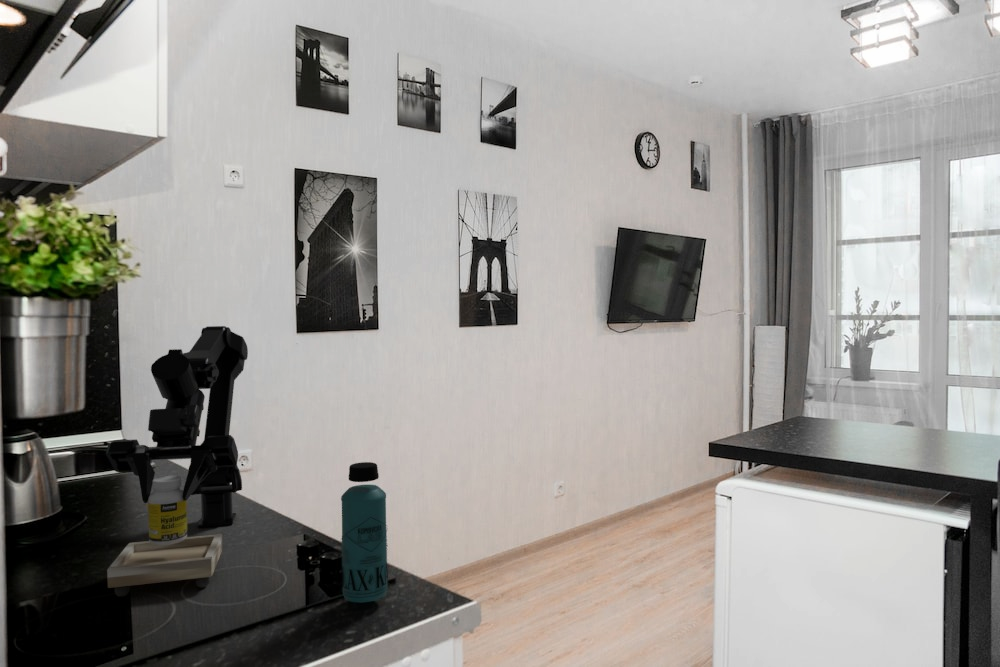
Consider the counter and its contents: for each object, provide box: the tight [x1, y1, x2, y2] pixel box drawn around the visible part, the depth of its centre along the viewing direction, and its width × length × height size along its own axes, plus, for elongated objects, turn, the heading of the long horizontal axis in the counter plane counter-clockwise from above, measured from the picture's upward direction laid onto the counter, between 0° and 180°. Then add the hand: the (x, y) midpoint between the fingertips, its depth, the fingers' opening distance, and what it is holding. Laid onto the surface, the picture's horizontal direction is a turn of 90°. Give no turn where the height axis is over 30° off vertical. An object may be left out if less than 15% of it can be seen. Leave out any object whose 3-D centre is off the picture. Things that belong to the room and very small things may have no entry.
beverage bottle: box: [340, 461, 389, 603], centre depth 96 cm, size 6×7×20 cm
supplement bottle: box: [147, 475, 188, 546], centre depth 106 cm, size 5×5×10 cm
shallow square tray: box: [106, 533, 223, 598], centre depth 107 cm, size 12×14×5 cm
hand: (164, 500), depth 105 cm, fingers closed on supplement bottle, 5 cm apart
